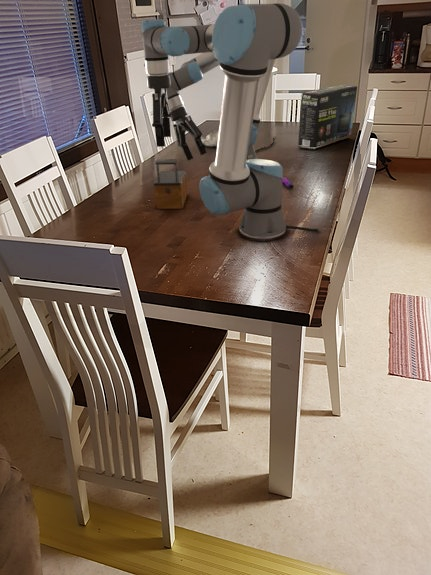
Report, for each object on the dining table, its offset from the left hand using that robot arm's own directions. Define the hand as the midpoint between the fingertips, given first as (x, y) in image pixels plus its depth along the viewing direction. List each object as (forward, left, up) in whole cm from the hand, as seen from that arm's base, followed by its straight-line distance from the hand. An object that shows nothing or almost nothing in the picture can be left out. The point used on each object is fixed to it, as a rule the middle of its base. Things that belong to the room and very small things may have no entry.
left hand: (197, 157), depth 200 cm
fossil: (-51, -20, -8) cm, 55 cm away
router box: (-75, +35, -8) cm, 83 cm away
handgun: (-6, +36, -8) cm, 37 cm away
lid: (+33, +8, +1) cm, 34 cm away
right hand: (+37, +10, +16) cm, 42 cm away
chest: (+32, +8, -8) cm, 34 cm away
